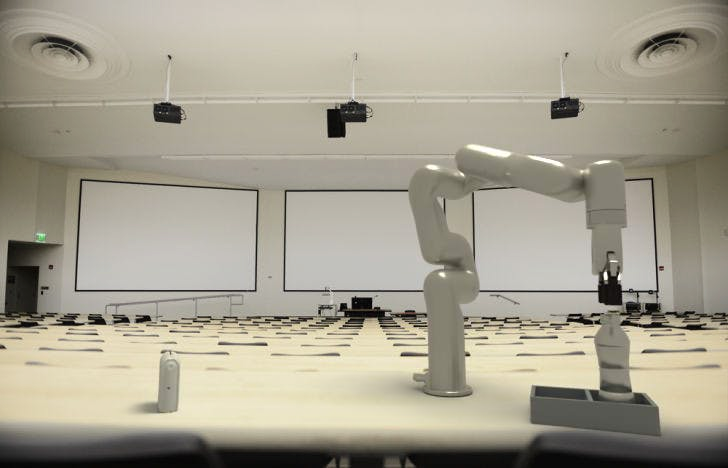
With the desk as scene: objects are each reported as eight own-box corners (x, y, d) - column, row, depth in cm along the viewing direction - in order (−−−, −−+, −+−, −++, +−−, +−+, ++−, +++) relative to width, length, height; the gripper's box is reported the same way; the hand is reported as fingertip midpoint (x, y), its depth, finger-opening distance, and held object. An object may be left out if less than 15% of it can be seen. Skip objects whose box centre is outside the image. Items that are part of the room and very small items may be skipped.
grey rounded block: (179, 411, 100) (181, 353, 102) (157, 414, 98) (160, 355, 100) (176, 401, 110) (179, 348, 111) (157, 403, 108) (159, 349, 109)
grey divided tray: (531, 423, 91) (530, 396, 91) (532, 408, 102) (531, 385, 102) (660, 435, 83) (658, 406, 83) (647, 418, 94) (645, 392, 94)
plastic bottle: (642, 420, 89) (633, 315, 91) (603, 418, 90) (596, 315, 93) (630, 412, 95) (623, 313, 97) (595, 410, 96) (588, 313, 99)
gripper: (583, 226, 105) (586, 302, 103) (589, 216, 89) (593, 305, 87) (620, 225, 102) (624, 303, 100) (634, 214, 86) (639, 306, 84)
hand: (609, 304), depth 93 cm, fingers open, 9 cm apart
